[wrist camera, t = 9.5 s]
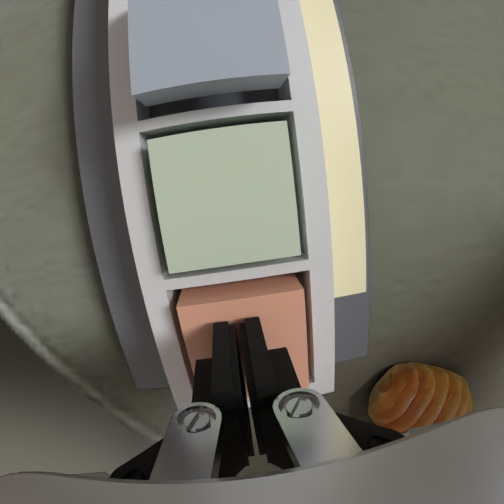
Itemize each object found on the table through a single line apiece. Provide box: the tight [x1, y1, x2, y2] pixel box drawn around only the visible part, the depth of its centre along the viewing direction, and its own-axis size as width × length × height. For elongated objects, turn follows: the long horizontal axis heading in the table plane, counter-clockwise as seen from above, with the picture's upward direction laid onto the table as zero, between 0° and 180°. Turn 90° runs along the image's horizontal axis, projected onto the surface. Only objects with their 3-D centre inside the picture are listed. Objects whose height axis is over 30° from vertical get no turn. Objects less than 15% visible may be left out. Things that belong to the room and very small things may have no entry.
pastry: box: [368, 362, 474, 434], centre depth 17 cm, size 9×7×4 cm
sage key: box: [147, 121, 301, 274], centre depth 11 cm, size 4×4×2 cm
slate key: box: [128, 0, 291, 107], centre depth 8 cm, size 4×4×2 cm
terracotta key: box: [176, 273, 309, 398], centre depth 12 cm, size 4×4×2 cm
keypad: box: [72, 0, 370, 409], centre depth 11 cm, size 12×24×4 cm, turn 7°
